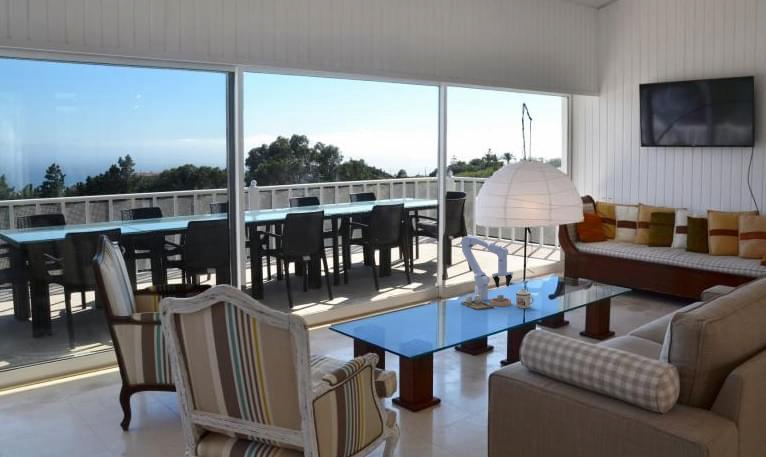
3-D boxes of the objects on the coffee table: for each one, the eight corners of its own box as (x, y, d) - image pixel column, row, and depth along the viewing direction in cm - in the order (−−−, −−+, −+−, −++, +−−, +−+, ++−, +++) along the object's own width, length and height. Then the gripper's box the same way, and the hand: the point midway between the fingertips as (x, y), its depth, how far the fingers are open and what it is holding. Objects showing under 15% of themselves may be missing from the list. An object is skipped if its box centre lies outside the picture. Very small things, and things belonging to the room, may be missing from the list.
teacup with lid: (513, 307, 449) (513, 289, 448) (521, 304, 456) (521, 286, 454) (529, 309, 441) (529, 291, 440) (537, 307, 447) (537, 289, 446)
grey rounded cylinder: (496, 303, 457) (496, 295, 457) (501, 303, 459) (501, 294, 458) (499, 304, 454) (499, 296, 453) (504, 304, 455) (504, 295, 455)
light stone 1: (464, 304, 457) (464, 296, 456) (470, 303, 458) (470, 295, 457) (468, 305, 453) (467, 297, 452) (473, 305, 454) (473, 296, 454)
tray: (461, 304, 459) (460, 302, 458) (477, 302, 464) (477, 300, 463) (476, 311, 441) (476, 308, 440) (493, 308, 446) (493, 306, 445)
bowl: (486, 303, 460) (486, 299, 459) (503, 301, 465) (503, 297, 464) (497, 307, 448) (497, 302, 448) (514, 305, 453) (514, 300, 453)
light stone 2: (473, 303, 459) (472, 295, 458) (478, 302, 460) (478, 294, 460) (476, 304, 455) (476, 296, 455) (481, 304, 457) (481, 295, 456)
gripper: (496, 268, 456) (496, 289, 458) (515, 266, 462) (515, 286, 463) (490, 266, 462) (490, 287, 464) (509, 264, 468) (509, 285, 470)
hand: (502, 286), depth 464 cm, fingers open, 7 cm apart
